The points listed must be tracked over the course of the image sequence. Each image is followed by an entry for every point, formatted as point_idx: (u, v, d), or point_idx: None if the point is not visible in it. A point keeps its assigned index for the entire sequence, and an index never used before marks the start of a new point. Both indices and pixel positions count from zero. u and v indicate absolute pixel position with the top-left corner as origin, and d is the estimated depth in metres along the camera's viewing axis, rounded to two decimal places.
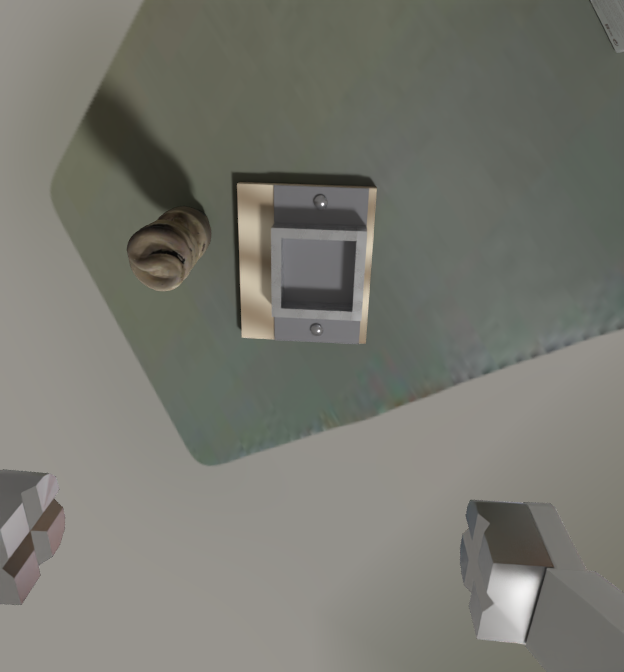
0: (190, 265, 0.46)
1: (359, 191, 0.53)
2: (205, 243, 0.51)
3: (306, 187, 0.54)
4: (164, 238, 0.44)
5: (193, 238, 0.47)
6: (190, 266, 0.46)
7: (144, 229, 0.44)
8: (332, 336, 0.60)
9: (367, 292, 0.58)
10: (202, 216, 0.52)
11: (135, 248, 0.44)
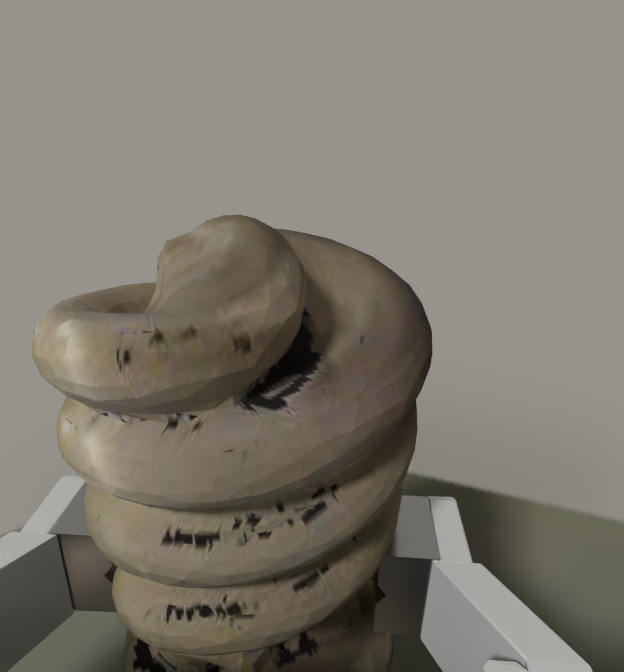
0: (226, 467, 0.06)
1: None
2: None
3: None
4: (380, 312, 0.08)
5: (352, 578, 0.08)
6: (218, 469, 0.06)
7: None
8: None
9: None
10: None
11: (288, 238, 0.09)
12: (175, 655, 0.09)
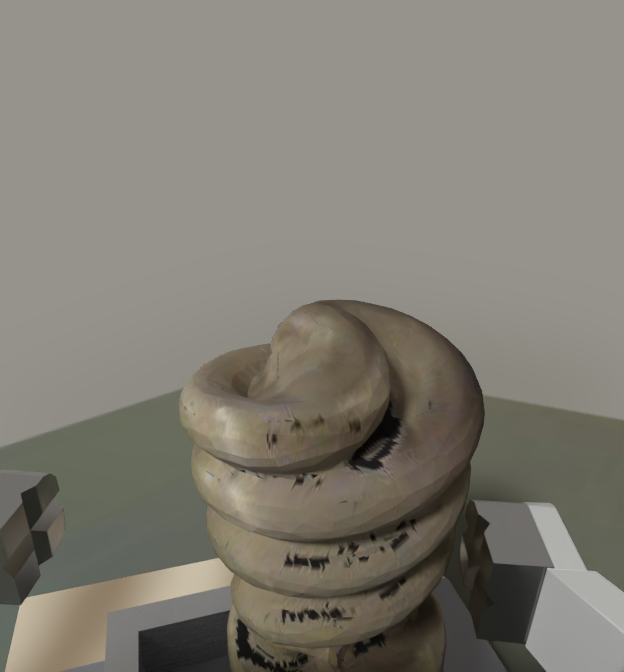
0: (342, 514, 0.08)
1: None
2: None
3: (489, 648, 0.20)
4: (442, 380, 0.10)
5: (423, 588, 0.10)
6: (336, 515, 0.08)
7: None
8: None
9: None
10: None
11: (359, 310, 0.11)
12: (272, 646, 0.12)
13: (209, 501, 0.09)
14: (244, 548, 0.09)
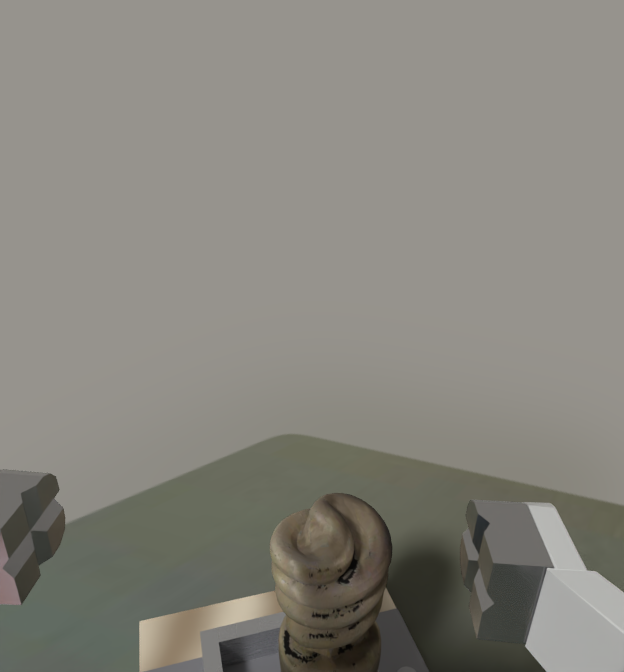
0: (334, 600, 0.22)
1: None
2: None
3: (417, 651, 0.34)
4: (375, 541, 0.24)
5: (366, 625, 0.24)
6: (332, 601, 0.22)
7: (377, 513, 0.26)
8: None
9: None
10: None
11: (343, 501, 0.26)
12: (301, 649, 0.26)
13: (283, 591, 0.23)
14: (295, 609, 0.24)
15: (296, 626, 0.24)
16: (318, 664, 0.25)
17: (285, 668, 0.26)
